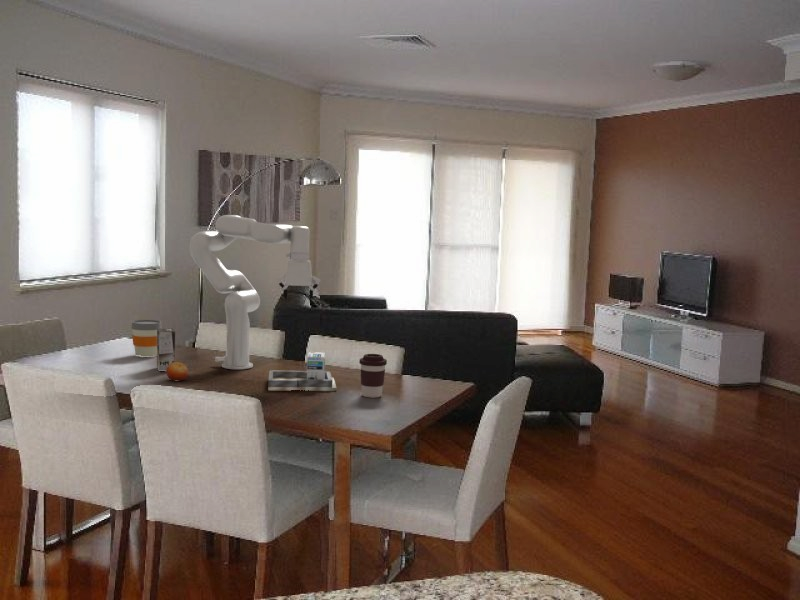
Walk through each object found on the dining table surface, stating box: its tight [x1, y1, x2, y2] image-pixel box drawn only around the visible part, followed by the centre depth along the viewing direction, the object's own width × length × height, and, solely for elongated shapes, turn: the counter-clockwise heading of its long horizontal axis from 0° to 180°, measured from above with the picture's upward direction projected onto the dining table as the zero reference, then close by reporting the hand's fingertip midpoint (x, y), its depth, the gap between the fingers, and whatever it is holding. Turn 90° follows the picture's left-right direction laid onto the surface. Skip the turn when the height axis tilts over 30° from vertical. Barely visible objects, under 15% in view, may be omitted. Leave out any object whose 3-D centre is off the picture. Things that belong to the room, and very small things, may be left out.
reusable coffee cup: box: [131, 319, 163, 356], centre depth 350 cm, size 13×12×15 cm
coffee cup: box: [359, 353, 388, 399], centre depth 294 cm, size 10×10×15 cm
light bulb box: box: [306, 351, 326, 380], centre depth 307 cm, size 11×7×11 cm, turn 4°
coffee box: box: [156, 327, 176, 371], centre depth 324 cm, size 9×6×16 cm
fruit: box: [165, 361, 189, 381], centre depth 306 cm, size 8×8×8 cm
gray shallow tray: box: [267, 369, 337, 392], centre depth 307 cm, size 25×18×4 cm
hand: (298, 299), depth 324 cm, fingers open, 9 cm apart
